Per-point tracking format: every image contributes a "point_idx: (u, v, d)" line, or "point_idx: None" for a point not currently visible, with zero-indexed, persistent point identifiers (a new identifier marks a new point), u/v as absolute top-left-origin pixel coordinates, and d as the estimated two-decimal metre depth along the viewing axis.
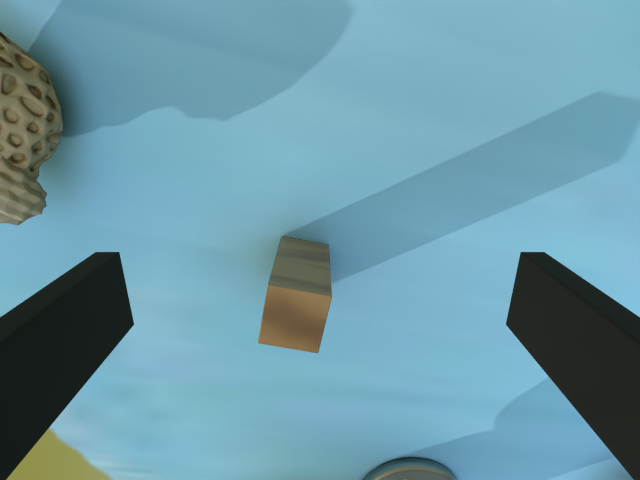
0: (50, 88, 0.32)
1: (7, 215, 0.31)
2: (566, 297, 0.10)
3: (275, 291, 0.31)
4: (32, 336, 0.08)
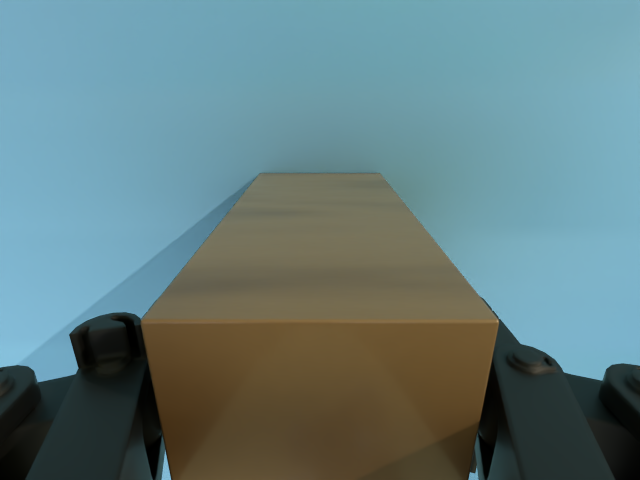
0: None
1: None
2: None
3: None
4: None
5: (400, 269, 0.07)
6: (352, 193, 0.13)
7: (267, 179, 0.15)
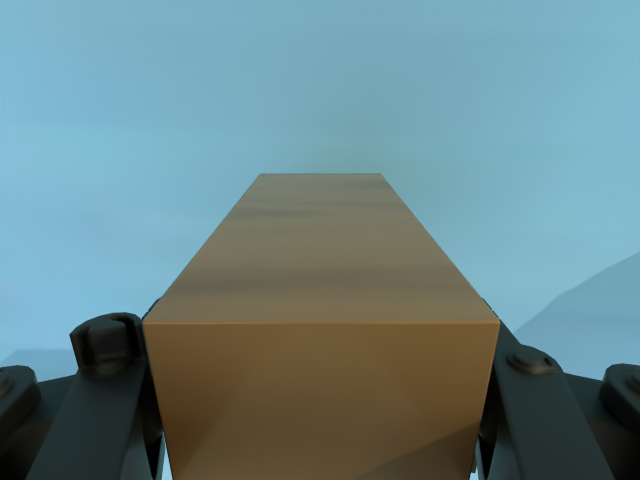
0: None
1: None
2: None
3: None
4: None
5: (400, 269, 0.07)
6: (353, 193, 0.13)
7: (268, 179, 0.15)
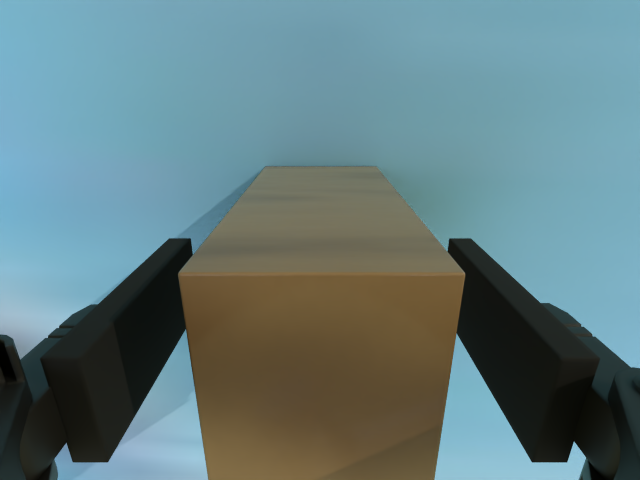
0: None
1: None
2: (475, 276, 0.11)
3: (403, 477, 0.09)
4: (141, 307, 0.10)
5: (387, 239, 0.09)
6: (350, 182, 0.14)
7: (272, 171, 0.17)
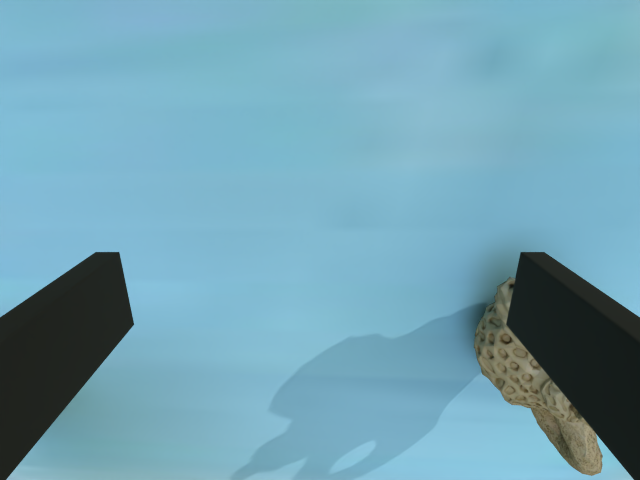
0: None
1: None
2: (566, 297, 0.10)
3: None
4: (32, 336, 0.08)
5: None
6: None
7: None
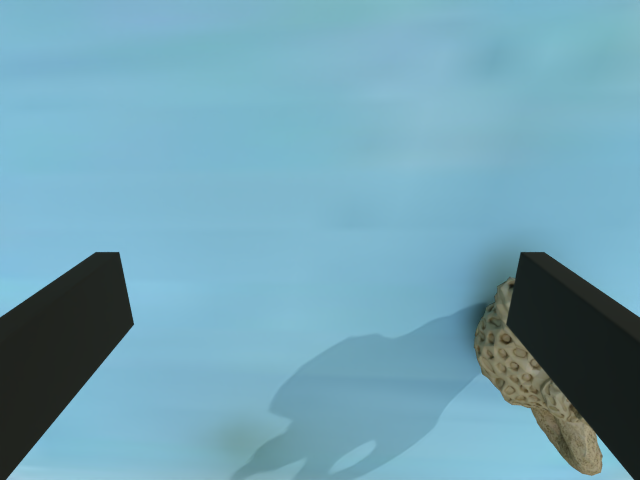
0: None
1: None
2: (566, 297, 0.10)
3: None
4: (32, 336, 0.08)
5: None
6: None
7: None
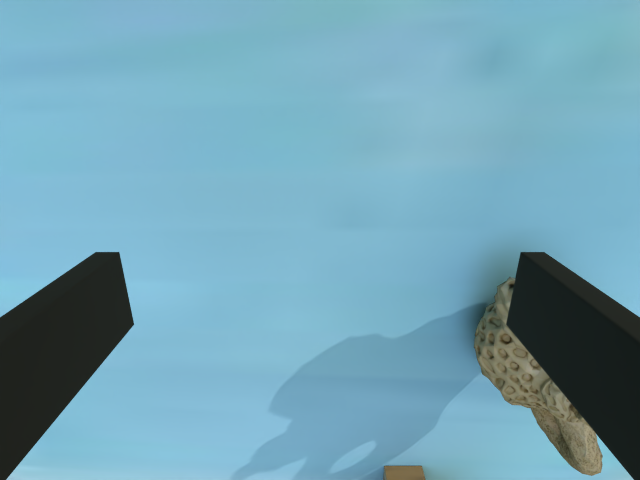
0: None
1: None
2: (566, 297, 0.10)
3: None
4: (32, 336, 0.08)
5: None
6: None
7: (389, 474, 0.52)
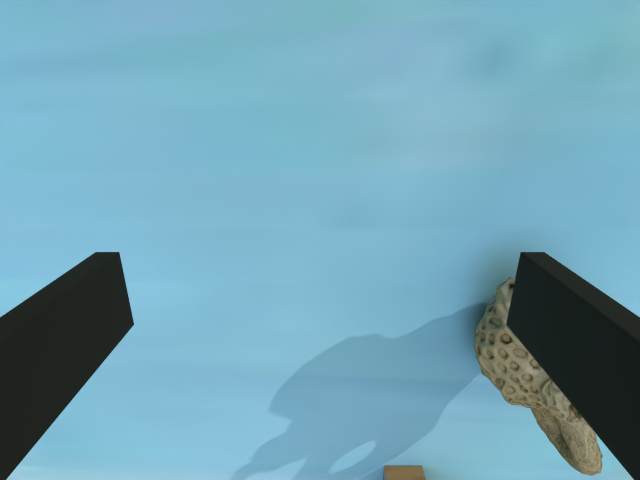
0: None
1: None
2: (566, 297, 0.10)
3: None
4: (32, 336, 0.08)
5: None
6: None
7: (389, 474, 0.52)
